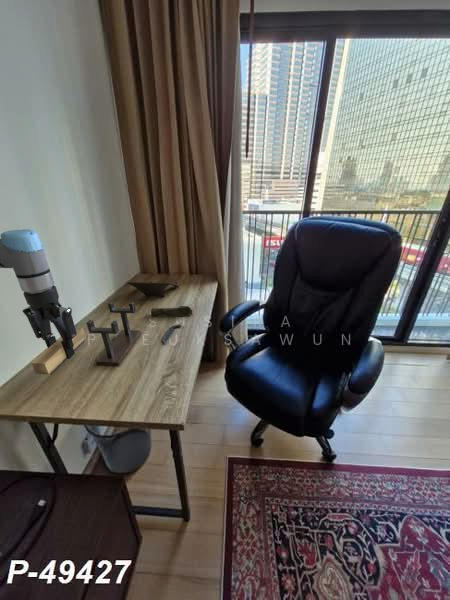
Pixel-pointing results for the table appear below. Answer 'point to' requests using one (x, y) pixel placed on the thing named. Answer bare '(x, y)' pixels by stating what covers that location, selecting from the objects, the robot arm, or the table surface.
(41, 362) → the wooden block
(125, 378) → the table surface
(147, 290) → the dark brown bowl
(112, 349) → the tool rack
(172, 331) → the knife
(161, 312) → the hand tool
